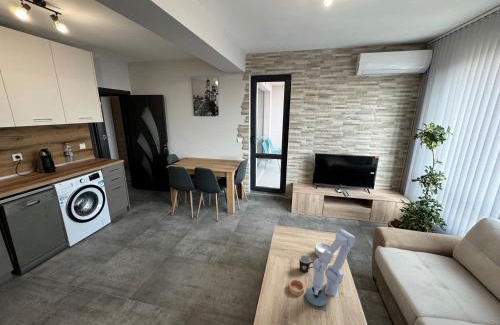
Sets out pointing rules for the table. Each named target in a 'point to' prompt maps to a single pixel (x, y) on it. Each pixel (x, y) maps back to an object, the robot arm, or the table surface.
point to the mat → (315, 305)
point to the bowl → (296, 287)
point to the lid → (316, 301)
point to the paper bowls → (321, 248)
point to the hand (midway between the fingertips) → (316, 295)
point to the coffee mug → (304, 263)
